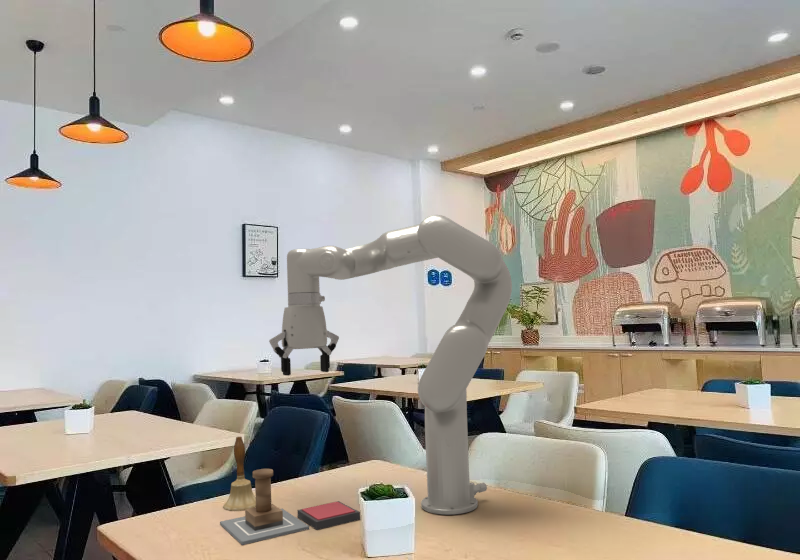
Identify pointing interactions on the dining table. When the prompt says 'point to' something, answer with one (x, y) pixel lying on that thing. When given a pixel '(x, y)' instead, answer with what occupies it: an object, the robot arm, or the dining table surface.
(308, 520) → the ink pad
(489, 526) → the dining table surface
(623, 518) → the dining table surface
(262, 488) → the stamp
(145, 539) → the dining table surface
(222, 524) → the board
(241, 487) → the hand bell
